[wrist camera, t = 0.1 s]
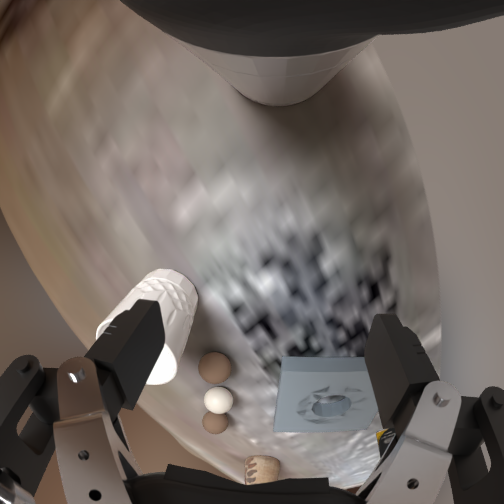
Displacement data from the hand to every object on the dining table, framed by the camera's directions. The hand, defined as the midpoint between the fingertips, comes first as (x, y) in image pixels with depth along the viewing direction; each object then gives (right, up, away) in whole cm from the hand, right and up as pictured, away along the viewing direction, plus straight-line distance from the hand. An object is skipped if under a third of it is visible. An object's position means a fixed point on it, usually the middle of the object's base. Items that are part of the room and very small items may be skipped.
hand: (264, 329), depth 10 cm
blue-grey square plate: (+11, -17, +26) cm, 33 cm away
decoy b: (-6, -23, +28) cm, 37 cm away
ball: (-5, -18, +25) cm, 31 cm away
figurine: (+2, -41, +38) cm, 55 cm away
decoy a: (-5, -11, +22) cm, 26 cm away
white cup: (-10, -2, +21) cm, 23 cm away
